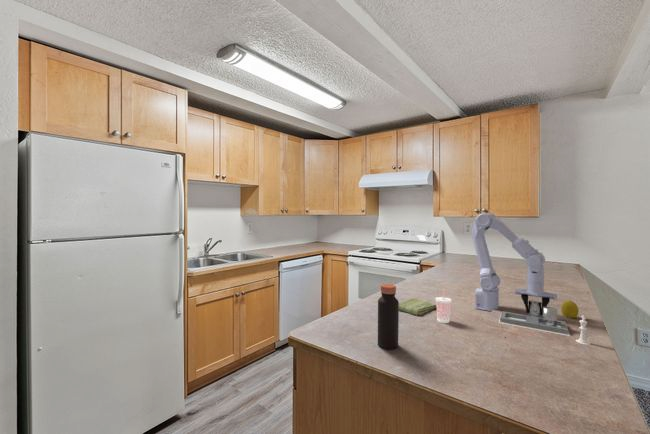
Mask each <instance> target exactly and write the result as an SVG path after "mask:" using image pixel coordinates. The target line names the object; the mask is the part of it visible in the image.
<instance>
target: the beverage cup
mask: <svg viewBox="0 0 650 434" xmlns="http://www.w3.org/2000/svg"><path fill="white" fill-rule="evenodd" d="M435 302H436V304H435V305H437V307H436V319H437V322H439V323H443V324H448V323H450V316H451V308H452V307H451V304H452V298H451V297H445V286H442V296H438V297H437V296H436V297H435Z"/></svg>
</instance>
